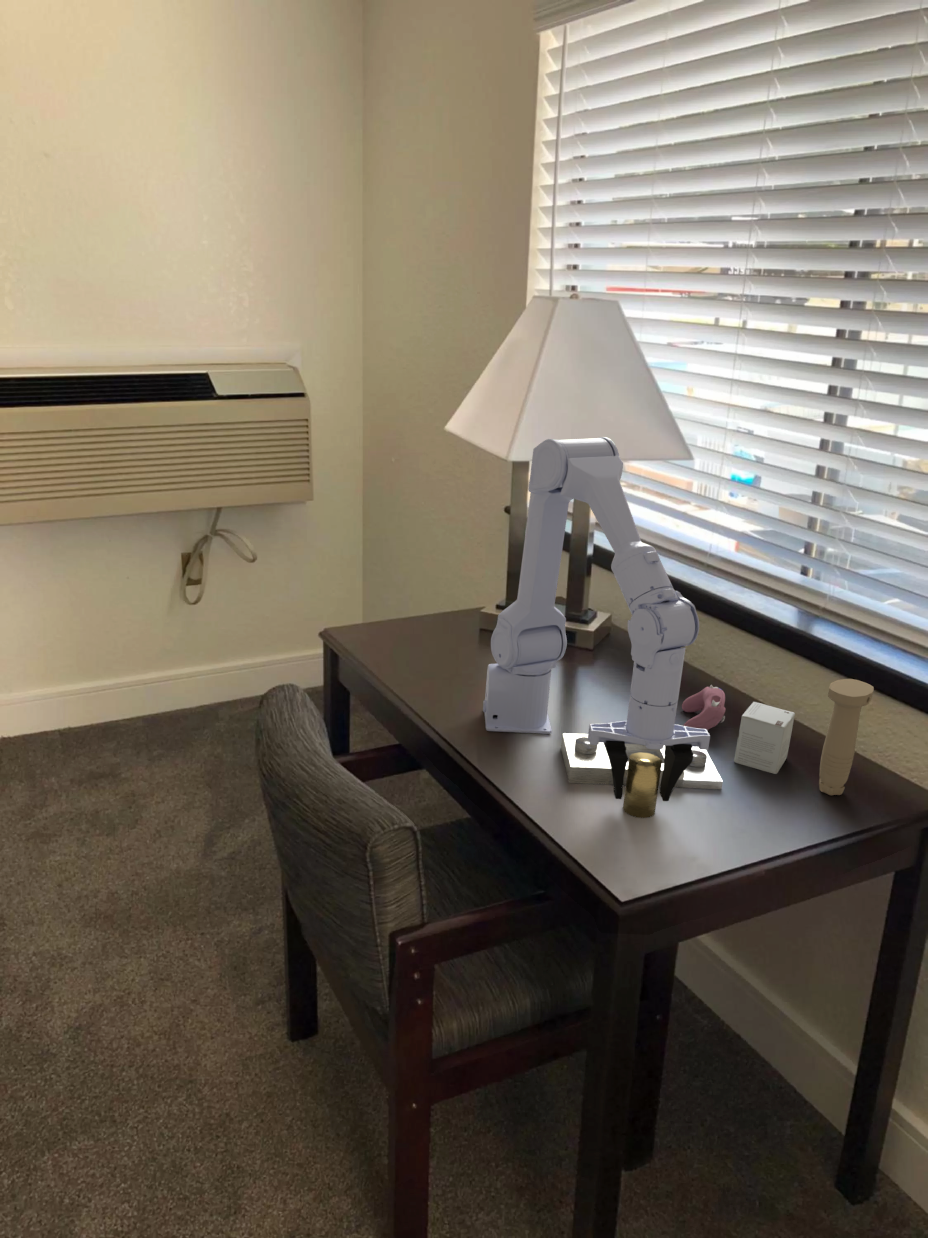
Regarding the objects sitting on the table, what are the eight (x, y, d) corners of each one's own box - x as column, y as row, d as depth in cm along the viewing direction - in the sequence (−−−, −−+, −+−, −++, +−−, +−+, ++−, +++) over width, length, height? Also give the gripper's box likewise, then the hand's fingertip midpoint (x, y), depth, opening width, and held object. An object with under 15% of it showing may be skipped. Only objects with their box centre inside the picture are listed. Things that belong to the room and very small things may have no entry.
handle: (801, 790, 132) (821, 687, 127) (825, 776, 136) (846, 675, 131) (834, 805, 129) (857, 699, 124) (859, 791, 133) (881, 688, 128)
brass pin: (625, 817, 123) (632, 767, 120) (620, 801, 127) (626, 751, 124) (657, 818, 123) (665, 768, 121) (651, 802, 127) (658, 753, 124)
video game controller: (705, 748, 146) (734, 713, 143) (679, 732, 146) (707, 696, 143) (703, 721, 155) (730, 686, 152) (678, 705, 155) (705, 671, 152)
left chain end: (569, 783, 130) (571, 758, 129) (560, 748, 139) (563, 725, 138) (682, 787, 131) (686, 763, 130) (666, 753, 140) (670, 730, 139)
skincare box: (744, 747, 144) (752, 700, 141) (787, 758, 141) (796, 711, 138) (733, 763, 139) (740, 715, 136) (776, 775, 136) (785, 726, 133)
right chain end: (608, 784, 130) (610, 768, 130) (597, 750, 140) (599, 734, 139) (721, 789, 131) (724, 773, 130) (703, 754, 140) (705, 739, 139)
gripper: (598, 708, 116) (587, 810, 120) (722, 713, 116) (706, 815, 121) (590, 683, 122) (579, 781, 127) (707, 689, 123) (692, 786, 127)
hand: (640, 796), depth 124 cm, fingers open, 5 cm apart
